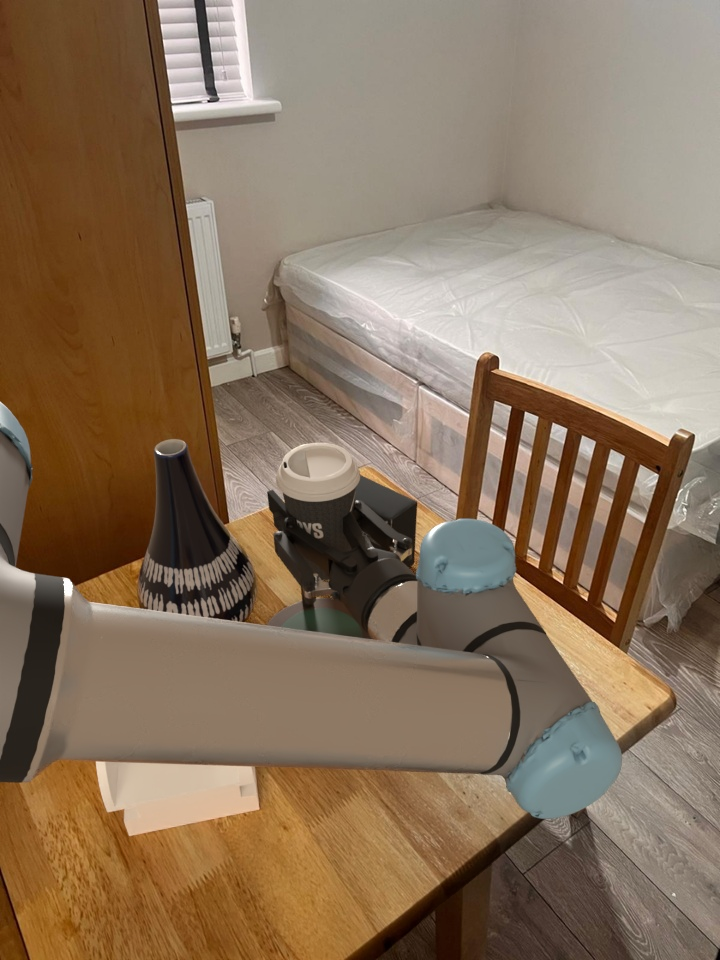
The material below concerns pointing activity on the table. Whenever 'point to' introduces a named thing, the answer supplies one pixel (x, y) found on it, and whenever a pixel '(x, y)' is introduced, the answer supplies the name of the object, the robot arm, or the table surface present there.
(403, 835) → the table surface
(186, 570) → the vase
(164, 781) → the white stand
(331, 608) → the paper towel holder
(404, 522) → the box
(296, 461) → the coffee cup
